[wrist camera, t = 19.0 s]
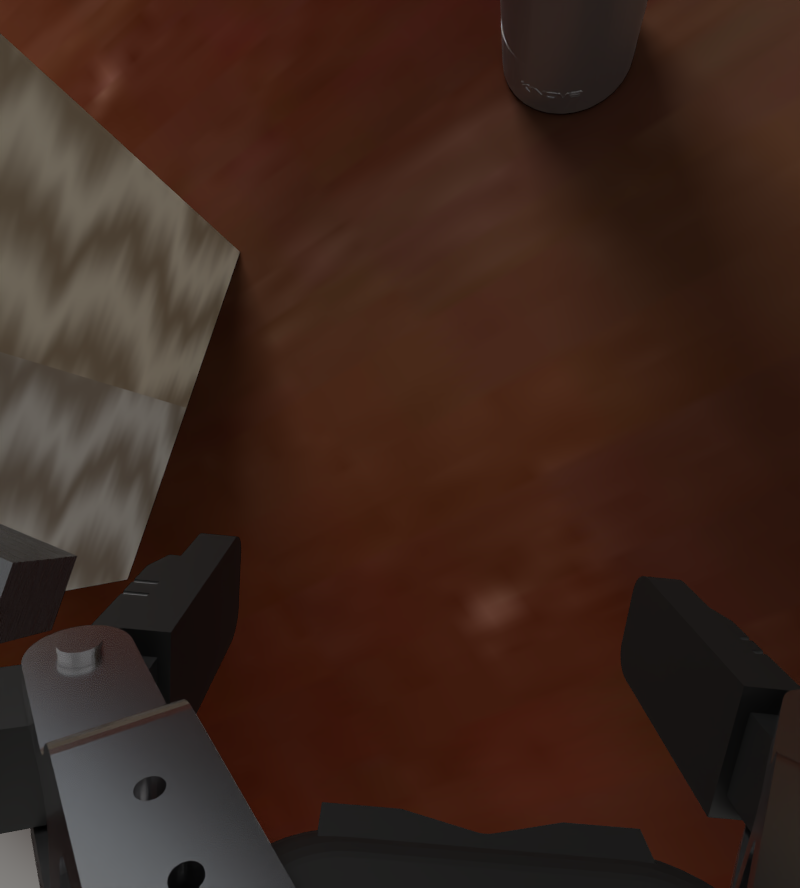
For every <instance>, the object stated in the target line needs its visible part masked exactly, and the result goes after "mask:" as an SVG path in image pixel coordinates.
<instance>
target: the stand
mask: <svg viewBox="0 0 800 888" xmlns="http://www.w3.org/2000/svg"><path fill="white" fill-rule="evenodd" d="M239 253H240V252H239V251H238V250H237V249H236V248H235V247H234V246H233V245H232V244H231V243H230V242H228V241H227V240H226V239H225V238H224V237H223V236H222V235H221V234H220V233H219V232H217V231H216V230H215V229H214V228H213V227H212V226H211V225H210V224H209V223H208V222H206V221H205V220H204V219H203V218H202V217H201V216H200V215H199V214H198V213H197V212H195V211H194V210H193V209H192V208H191V207H190V206H189V205H188V204H187V203H186V202H185V201H183V200H182V199H181V198H180V197H179V196H178V195H177V194H176V193H175V192H174V191H172V190H171V189H170V188H169V187H168V186H167V185H166V184H165V183H164V182H163V181H161V180H160V179H159V178H158V177H157V176H156V175H155V174H154V173H153V172H152V171H151V170H149V169H148V168H147V167H146V166H145V165H144V164H143V163H142V162H141V161H140V160H138V159H137V158H136V157H135V156H134V155H133V154H132V153H131V152H130V151H129V150H127V149H126V148H125V147H124V146H123V145H122V144H121V143H120V142H119V141H118V140H117V139H115V138H114V137H113V136H112V135H111V134H110V133H109V132H108V131H107V130H106V129H104V128H103V127H102V126H101V125H100V124H99V123H98V122H97V121H96V120H95V119H93V118H92V117H91V116H90V115H89V114H88V113H87V112H86V111H85V110H84V109H83V108H81V107H80V106H79V105H78V104H77V103H76V102H75V101H74V100H73V99H72V98H70V97H69V96H68V95H67V94H66V93H65V92H64V91H63V90H62V89H61V88H59V87H58V86H57V85H56V84H55V83H54V82H53V81H52V80H51V79H50V78H49V77H47V76H46V75H45V74H44V73H43V72H42V71H41V70H40V69H39V68H38V67H36V66H35V65H34V64H33V63H32V62H31V61H30V60H29V59H28V58H27V57H25V56H24V55H23V54H22V53H21V52H20V51H19V50H18V49H17V48H16V47H15V46H13V45H12V44H11V43H10V42H9V41H8V40H7V39H6V38H5V37H4V36H2V35H1V34H0V524H2V525H4V526H7V527H9V528H12V529H14V530H16V531H19V532H21V533H24V534H26V535H28V536H31V537H33V538H36V539H38V540H40V541H43V542H45V543H48V544H50V545H52V546H55V547H57V548H60V549H62V550H64V551H67V552H69V553H71V554H74V555H76V556H77V558H76V561H75V564H74V567H73V570H72V573H71V576H70V578H69V581H68V584H67V587H66V590H65V591H67V590H72V589H78V588H83V587H89V586H94V585H100V584H105V583H111V582H116V581H122V580H127V579H128V576H129V573H130V571H131V568H132V565H133V562H134V559H135V556H136V553H137V550H138V547H139V544H140V541H141V539H142V536H143V533H144V530H145V527H146V524H147V521H148V518H149V515H150V512H151V509H152V507H153V504H154V501H155V498H156V495H157V492H158V489H159V486H160V483H161V480H162V477H163V475H164V472H165V469H166V466H167V463H168V460H169V457H170V454H171V451H172V448H173V445H174V443H175V440H176V437H177V434H178V431H179V428H180V425H181V422H182V419H183V416H184V413H185V411H186V408H187V405H188V402H189V399H190V396H191V393H192V390H193V387H194V384H195V381H196V379H197V376H198V373H199V370H200V367H201V364H202V361H203V358H204V355H205V352H206V349H207V347H208V344H209V341H210V338H211V335H212V332H213V329H214V326H215V323H216V320H217V317H218V315H219V312H220V309H221V306H222V303H223V300H224V297H225V294H226V291H227V288H228V285H229V283H230V280H231V277H232V274H233V271H234V268H235V265H236V262H237V259H238V256H239Z"/></svg>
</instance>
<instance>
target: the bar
mask: <svg viewBox="0 0 800 888" xmlns="http://www.w3.org/2000/svg"><path fill="white" fill-rule="evenodd" d="M76 558H77V556H76V555H74V554H71V553H69V552H67V551H64V550H62V549H60V548H57V547H55V546H52V545H50V544H48V543H45V542H43V541H40V540H38V539H36V538H33V537H31V536H28V535H26V534H24V533H21V532H19V531H16V530H14V529H12V528H9V527H7V526H4V525H2V524H0V643H3V642H7V641H11V640H15V639H19V638H23V637H27V636H30V635H34V634H38V633H42V632H46V631H50V630H52V627H53V624H54V622H55V619H56V616H57V613H58V610H59V607H60V604H61V601H62V599H63V596H64V593H65V590H66V587H67V584H68V581H69V578H70V576H71V573H72V570H73V567H74V564H75V561H76Z"/></svg>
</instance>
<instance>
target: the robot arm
mask: <svg viewBox="0 0 800 888" xmlns="http://www.w3.org/2000/svg"><path fill="white" fill-rule="evenodd" d="M647 1H648V0H500V2H501V31H502V55H503V69H504V75H505V78H506V81H507V83H508V86H509V87H510V89H511V90H512V92H513V93H514V94H515V96H516V97H518V98H519V99H520V100H521V101H522V102H523V103H524V104H526V105H528V106H530V107H532V108H534V109H536V110H539V111H543V112H546V113H556V114H565V113H573V112H578V111H581V110H584V109H587V108H590V107H592V106H594V105H596V104H598V103H600V102H601V101H603V100H604V99H605V98H607V97H608V96H609V95H611V94H612V93H613V92H614V91H615V90H616V89H617V88H618V86H619V85H620V84H621V83H622V82H623V80H624V78H625V77H626V75H627V73H628V71H629V69H630V66H631V63H632V60H633V56H634V52H635V48H636V44H637V40H638V36H639V32H640V28H641V24H642V21H643V17H644V13H645V9H646V5H647ZM240 562H241V542H240V538H239V537H235V536H225V535H214V534H204V533H201V534H199V535H198V537H197V538H196V539H195V540H194V541H193V542H192V544H191V545H190V546H189V547H188V548H187V549H186V551H185V552H184V553H183V554H182V555H181V556H177V555H168V556H166V557H164V558H162V559H160V560H158V561H156V562H154V563H151V564H149V565H147V567H146V568H145V569H144V570H143V571H142V572H141V573H140V574H139V575H138V576H137V577H136V578H135V580H134V582H131V583H130V584H129V586H128V587H127V588H126V589H125V590H124V592H123V594H120V595H119V596H118V597H117V598H116V599H115V600H114V601H113V602H112V604H111V605H110V606H109V607H108V608H107V609H106V610H105V611H104V612H103V613H102V614H101V615H100V616H99V617H98V618H97V619H96V620H95V621H94V623H93V624H92V625H87V626H79V627H73V628H69V629H65V630H61V631H59V632H56V633H53V634H51V635H49V636H46V637H44V638H43V639H41V640H39V641H38V642H36V643H35V644H34V645H32V646H31V647H30V648H29V649H28V650H27V651H26V653H25V654H24V656H23V658H22V664H21V665H16V666H9V667H0V834H1V833H6V832H12V831H17V830H22V829H28V828H30V829H31V839H32V844H33V850H34V856H35V861H36V867H37V873H38V879H39V885H40V888H714V887H712V886H711V885H709V884H707V883H706V882H704V881H702V880H700V879H698V878H696V877H695V876H693V875H691V874H689V873H687V872H685V871H683V870H680V869H678V868H676V867H673V866H671V865H668V864H666V863H663V862H661V861H657V860H654V859H653V857H652V855H651V852H650V850H649V848H648V846H647V844H646V841H645V839H644V837H643V835H642V833H641V830H640V829H633V828H621V827H609V826H597V825H585V824H573V823H557V824H551V825H545V826H538V827H532V828H526V829H520V830H513V831H507V832H501V833H495V834H482V833H477V832H474V831H471V830H467V829H464V828H461V827H458V826H454V825H451V824H448V823H445V822H442V821H438V820H435V819H432V818H429V817H425V816H422V815H419V814H416V813H412V812H409V811H406V810H403V809H395V808H384V807H372V806H360V805H348V804H336V803H324V802H322V807H321V813H320V820H319V826H318V830H315V831H310V832H304V833H300V834H297V835H293V836H290V837H286V838H283V839H281V840H278V841H276V842H273V843H271V844H270V842H269V840H268V839H267V837H266V835H265V833H264V832H263V830H262V828H261V826H260V825H259V823H258V821H257V820H256V818H255V816H254V814H253V813H252V811H251V809H250V807H249V806H248V804H247V802H246V800H245V799H244V797H243V795H242V793H241V792H240V790H239V788H238V786H237V785H236V783H235V781H234V779H233V778H232V776H231V774H230V773H229V771H228V769H227V767H226V766H225V764H224V762H223V760H222V759H221V757H220V755H219V753H218V752H217V750H216V748H215V746H214V745H213V743H212V741H211V739H210V738H209V736H208V734H207V732H206V731H205V729H204V727H203V725H202V724H201V722H200V720H199V719H198V717H197V715H196V713H197V711H198V709H199V707H200V705H201V703H202V701H203V699H204V697H205V695H206V693H207V691H208V689H209V687H210V685H211V683H212V681H213V678H214V676H215V674H216V672H217V670H218V668H219V666H220V664H221V662H222V660H223V658H224V656H225V654H226V652H227V650H228V648H229V646H230V644H231V642H232V639H233V636H234V633H235V629H236V624H237V618H238V608H239V585H240ZM621 666H622V671H623V674H624V677H625V679H626V681H627V682H628V684H629V686H630V687H631V689H632V691H633V692H634V694H635V696H636V697H637V699H638V701H639V702H640V704H641V706H642V707H643V709H644V711H645V713H646V714H647V716H648V718H649V719H650V721H651V723H652V724H653V726H654V728H655V729H656V731H657V733H658V734H659V736H660V738H661V739H662V741H663V743H664V744H665V746H666V748H667V749H668V751H669V753H670V754H671V756H672V758H673V759H674V761H675V763H676V764H677V766H678V768H679V769H680V771H681V773H682V774H683V776H684V778H685V779H686V781H687V783H688V785H689V786H690V788H691V790H692V791H693V793H694V795H695V796H696V798H697V800H698V801H699V803H700V805H701V806H702V808H703V810H704V811H705V813H706V815H707V816H708V817H713V818H725V819H736V820H743V821H744V823H745V824H746V825H745V828H744V831H743V835H742V838H741V842H740V845H739V849H738V854H737V858H736V863H735V868H734V872H733V877H732V881H731V886H730V888H800V686H799V685H797V684H796V683H795V682H794V681H793V680H792V679H791V678H790V677H789V676H788V675H787V674H786V673H785V672H784V671H783V670H782V669H781V668H780V667H779V666H778V665H777V664H776V663H775V662H774V661H773V660H772V659H771V658H770V657H768V656H767V655H765V654H763V651H762V650H761V649H760V648H759V647H758V646H757V645H756V644H755V643H754V642H753V641H749V637H748V636H747V635H746V634H745V633H744V632H743V631H742V630H741V629H739V628H738V627H737V626H736V625H735V624H734V623H733V622H732V621H731V620H729V619H727V618H726V617H724V616H722V615H721V614H719V613H717V612H716V611H714V610H712V609H711V608H709V607H708V606H707V605H706V604H705V603H704V602H703V601H702V600H701V599H700V598H699V597H698V596H697V595H696V594H695V593H694V592H693V591H692V590H691V589H690V588H689V587H688V586H687V585H686V584H685V583H684V582H683V581H681V580H676V579H666V578H655V577H645V576H642V577H640V578H639V579H638V580H637V582H636V584H635V586H634V590H633V594H632V599H631V603H630V608H629V613H628V617H627V622H626V626H625V631H624V636H623V640H622V645H621Z"/></svg>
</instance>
